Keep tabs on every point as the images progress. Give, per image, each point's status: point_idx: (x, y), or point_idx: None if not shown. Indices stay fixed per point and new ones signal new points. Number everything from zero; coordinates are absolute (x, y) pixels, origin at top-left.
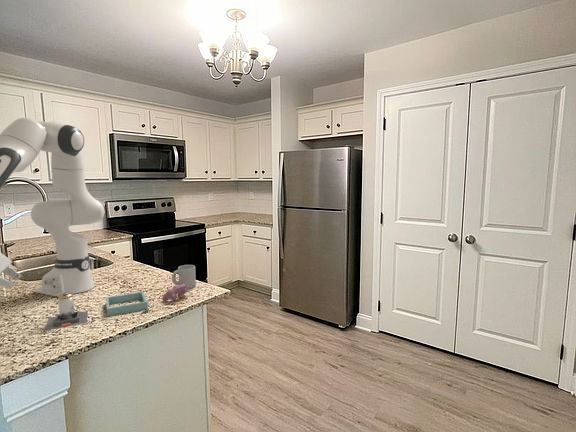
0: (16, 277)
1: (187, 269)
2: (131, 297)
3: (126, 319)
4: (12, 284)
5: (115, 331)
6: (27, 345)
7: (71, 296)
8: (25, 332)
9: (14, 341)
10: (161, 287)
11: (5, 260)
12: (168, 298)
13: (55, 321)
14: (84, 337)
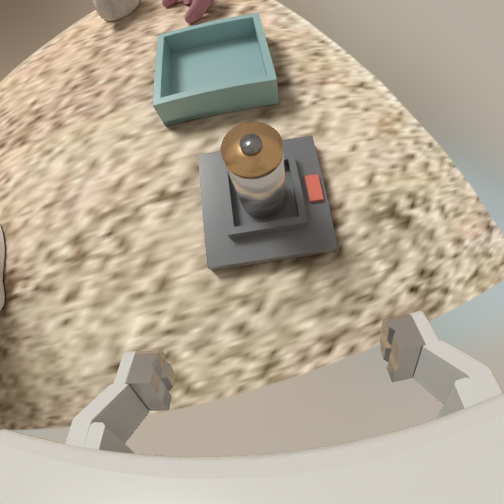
0: (161, 375)
1: None
2: (166, 60)
3: (289, 67)
4: (422, 316)
5: (364, 82)
6: (393, 279)
7: (266, 127)
8: (280, 322)
9: (347, 331)
10: (88, 51)
11: (35, 482)
12: (208, 5)
13: (298, 218)
14: (383, 140)
